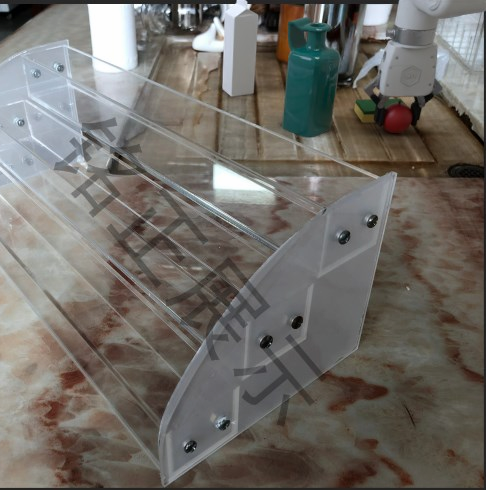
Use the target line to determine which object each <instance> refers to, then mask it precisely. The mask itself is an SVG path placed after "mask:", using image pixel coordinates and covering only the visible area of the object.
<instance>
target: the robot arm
mask: <svg viewBox="0 0 486 490" xmlns="http://www.w3.org/2000/svg"><path fill="white" fill-rule="evenodd" d="M396 9H397V10H396V14H395V15H396V16H395V21H394V24H393V26H392V28H391V29H386V30H385V37H386V38H390V39H391V40H388V41H387V44H386V46H385V48H384V51H383V54H382V56H381V59H380V63H379V66H378V67H379V68H378V70H377V74H376V76H375V77H373V79H371V80H370V81H369V82H368V83H366V84H364V86H363V87H362V90H363V92H364V93H365V94H366V95H367V97H369V99H371V100H372V101H373V102H374V103H375V104H376V108H375V113H374V121H375V122H374V123H375V124H376V125H377V126H378V127H379V128H383V123H384V118H385V113H386V108H385V107H384V106H385V104H386V102H387V101H388V99H391V98H411V97H412V98H413V99H414V100H413V102H411V104H410V106H409V108H410V109H411V111H412V115H413V119H412V122H411V125H410V126H412V127H416V126H417V124H418V121H420V118H421V115H422V109H423V108H424V107H425V106H426V104H427V103H429V102H430V101H431V100H432V99H433V98H434V97H435V96H437V95H438V94H439V93H441V91H443V89H444V88H443V86H442V84H440V82H439V81H438V80H437V79H436V72H437V64H438V43H437V42H436V41H435V38H436V37H435V36H436V33H437V28H438V24H439V20H443V19H444V20H445V19H451V18H457V17H461V16H466V15H473V14H479V13H484V12H486V0H398V3H397V8H396ZM375 88H376V89H377V90H379V92H378V93H375V92H374V90H375Z"/></svg>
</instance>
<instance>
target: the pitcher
mask: <svg viewBox="0 0 486 490" xmlns="http://www.w3.org/2000/svg"><path fill="white" fill-rule="evenodd" d="M332 29H333V28H332V25H331V24H328V23H325V22H312V21H311V18H309V17H308V16H304V17H300V18H298V19H297V18H296V19H294V20H289V21H287V43H288V47H289V50H290V52H289V54H288V57H287V67H286V68H287V69H286V77H285V78H286V79H285V89H284V91H285V92H284V102H283V111H282V114H283V115H282V122H281V126H282V127H281V128H282V129H283V130H285V131H288V132H290V133H293V134H295V135H297V136H300V137H303V138H315V137H316V136H319V135H321V134H323V133H327V132H329V131H330V130H331V129H332V123H333V122H332V121H333V116H334V115H333V114H334V108H335V101H336V94H337V87H338V79H339V72H340V64H341V54H340V52H339V50H337V49H336V48H333V47H330V46H327V44H326V42H327V41H326V40H327V32H330V31H331V30H332ZM306 33H307V35H306Z"/></svg>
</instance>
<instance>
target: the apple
mask: <svg viewBox="0 0 486 490" xmlns="http://www.w3.org/2000/svg"><path fill="white" fill-rule="evenodd" d="M401 100H402V99H401ZM401 100H399V102H398V103H392V104H390V105H388V106H387V107H386V113H385V118H384V123H383V126H382V128H383V129H384V130H385V131H387V132H388V133H391V134H401V133H403V132H404V131H406V130H408V129H409V127H410V126H412V125H411V122H412V119H413V115H412V111H411V109H410V106H408V105H407V104H406V103H405V104H406V105H405V104H403V103H401Z"/></svg>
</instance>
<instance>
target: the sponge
mask: <svg viewBox="0 0 486 490" xmlns="http://www.w3.org/2000/svg"><path fill="white" fill-rule="evenodd" d="M399 100H401V103H403V104H405V105H407V104H406V103H405V102H404V100H403V99H402V98H389V99H388V101H387V102H386V104H385V106H384V107H385V108H386V107H387V106H388V105H390V104H392V103H398V102H399ZM375 108H376V104H375V103H374V102H373V101H372V100H371V98H369V99H367V98H365V99H355V103H354V112H355V114H356V116H357V118H358V119H359V120H360V121H361V123H363V124H364V123H366V124H367V123H376V122H375V121H374V113H375Z"/></svg>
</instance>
